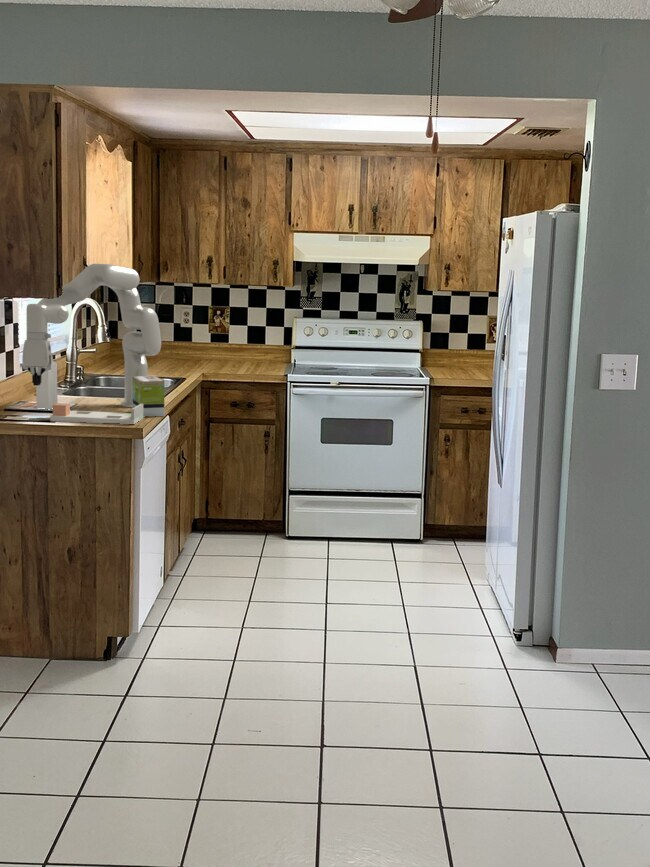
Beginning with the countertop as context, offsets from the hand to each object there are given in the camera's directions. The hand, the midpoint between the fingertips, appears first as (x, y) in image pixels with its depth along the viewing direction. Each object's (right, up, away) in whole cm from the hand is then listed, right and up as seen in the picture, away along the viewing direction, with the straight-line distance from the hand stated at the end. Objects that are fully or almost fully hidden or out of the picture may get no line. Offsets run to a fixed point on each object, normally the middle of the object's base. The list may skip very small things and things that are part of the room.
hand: (36, 385), depth 362 cm
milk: (-4, -9, +27) cm, 29 cm away
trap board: (+22, -13, +5) cm, 26 cm away
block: (+9, -11, +2) cm, 14 cm away
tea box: (+38, -11, +24) cm, 46 cm away
